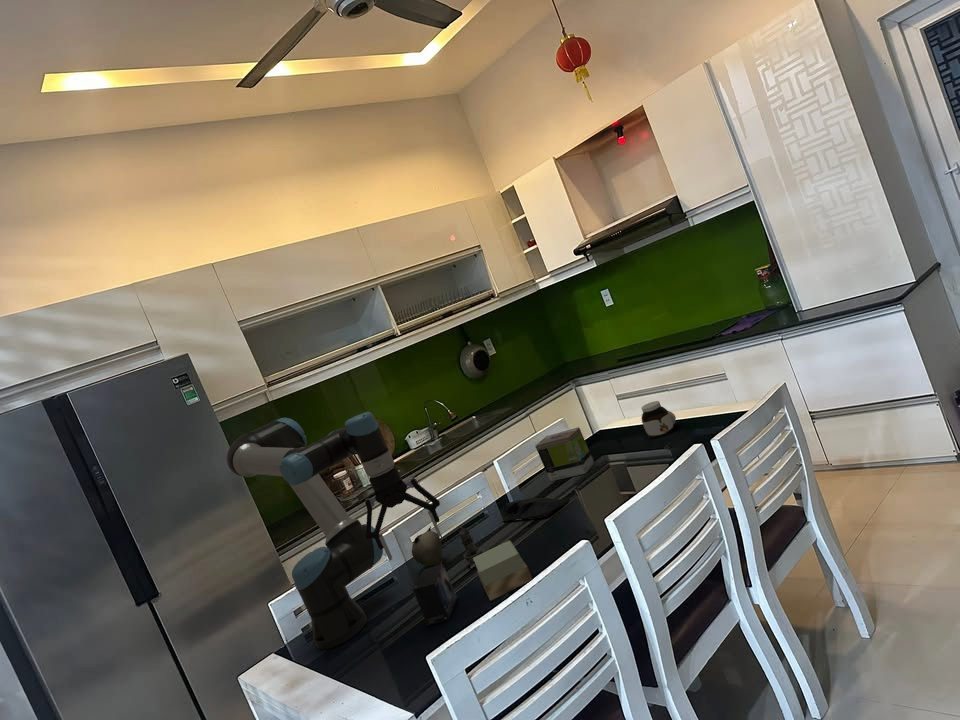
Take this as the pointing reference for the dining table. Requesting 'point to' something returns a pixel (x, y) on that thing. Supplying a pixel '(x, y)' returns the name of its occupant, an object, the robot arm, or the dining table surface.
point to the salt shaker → (469, 546)
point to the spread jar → (657, 419)
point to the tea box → (565, 454)
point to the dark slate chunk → (532, 508)
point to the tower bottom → (507, 582)
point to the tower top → (498, 563)
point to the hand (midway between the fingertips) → (415, 546)
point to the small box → (435, 595)
